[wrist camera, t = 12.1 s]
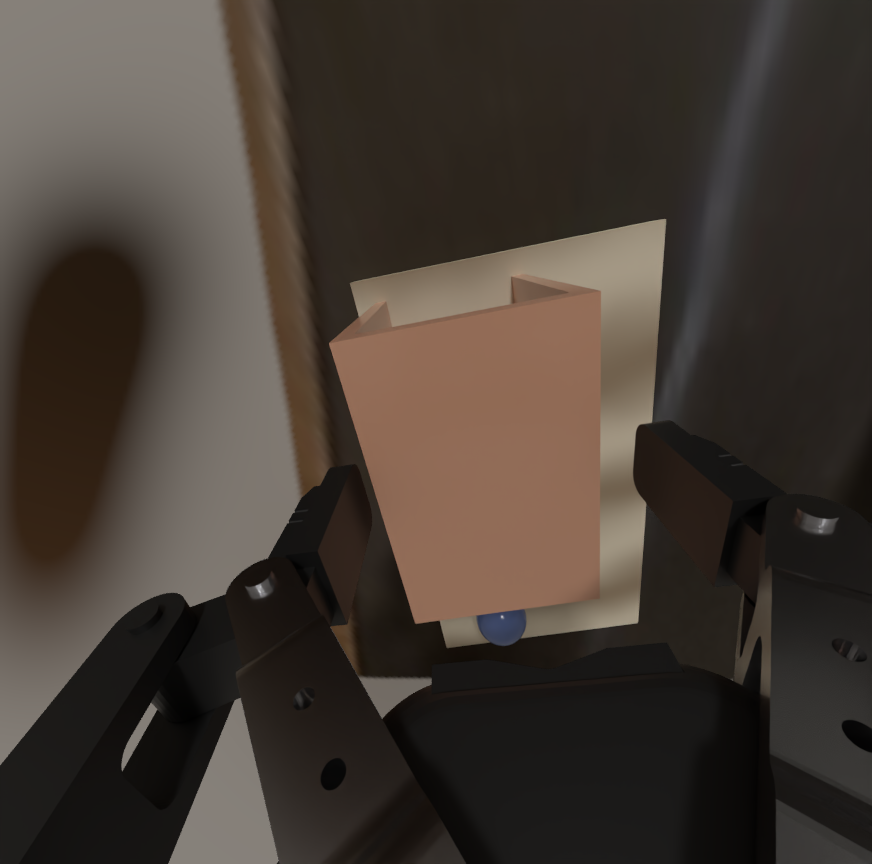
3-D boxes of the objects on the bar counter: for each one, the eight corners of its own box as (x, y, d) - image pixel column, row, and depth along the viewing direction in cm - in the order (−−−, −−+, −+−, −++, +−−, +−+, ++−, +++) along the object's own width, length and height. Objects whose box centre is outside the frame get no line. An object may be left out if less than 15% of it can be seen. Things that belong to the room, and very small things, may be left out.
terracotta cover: (375, 303, 16) (328, 343, 9) (523, 273, 16) (600, 290, 8) (421, 492, 20) (415, 623, 13) (538, 473, 20) (599, 598, 13)
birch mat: (354, 281, 17) (350, 283, 16) (652, 220, 16) (665, 218, 15) (446, 634, 27) (446, 648, 26) (630, 610, 26) (638, 622, 25)
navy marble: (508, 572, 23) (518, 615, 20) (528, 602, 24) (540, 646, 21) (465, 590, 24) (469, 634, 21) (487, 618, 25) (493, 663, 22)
